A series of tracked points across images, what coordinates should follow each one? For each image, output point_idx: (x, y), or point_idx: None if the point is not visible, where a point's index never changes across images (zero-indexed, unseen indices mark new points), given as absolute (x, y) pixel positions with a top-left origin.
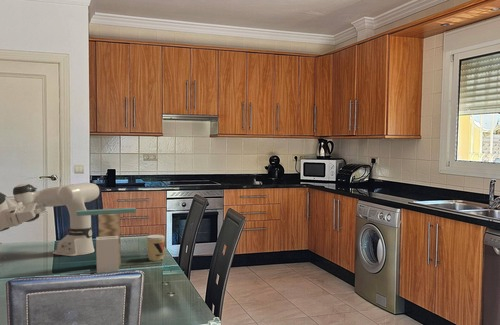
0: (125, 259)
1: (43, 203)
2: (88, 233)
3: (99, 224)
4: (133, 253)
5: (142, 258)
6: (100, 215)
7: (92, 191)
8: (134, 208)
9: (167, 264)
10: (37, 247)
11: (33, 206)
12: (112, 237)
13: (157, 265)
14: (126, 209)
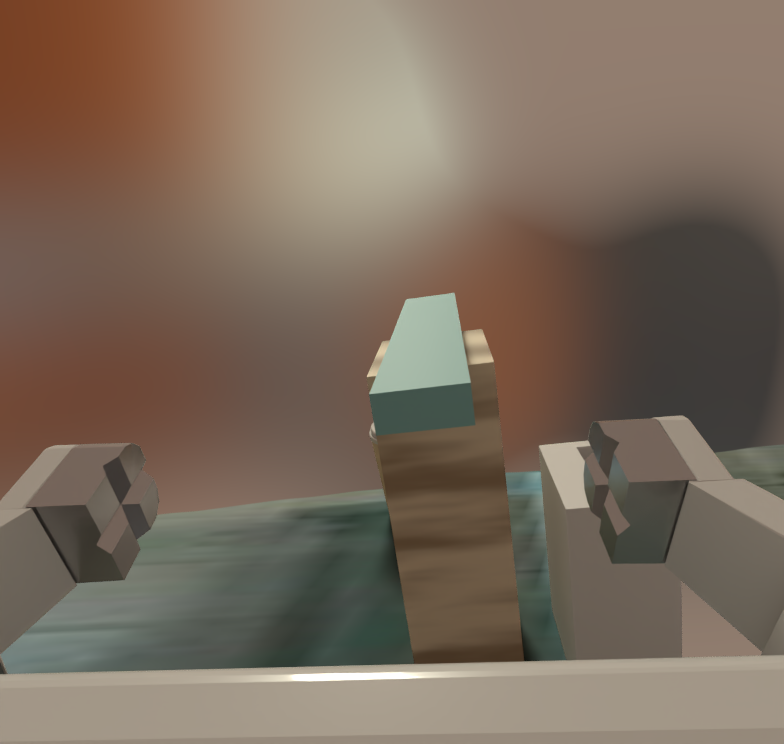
0: (372, 595)
1: (55, 482)
2: (3, 664)
3: (499, 427)
4: (268, 574)
5: (389, 543)
6: (492, 359)
7: None
8: (435, 296)
9: (524, 484)
10: None
11: (334, 702)
12: (581, 457)
13: (531, 503)
14: (455, 301)
